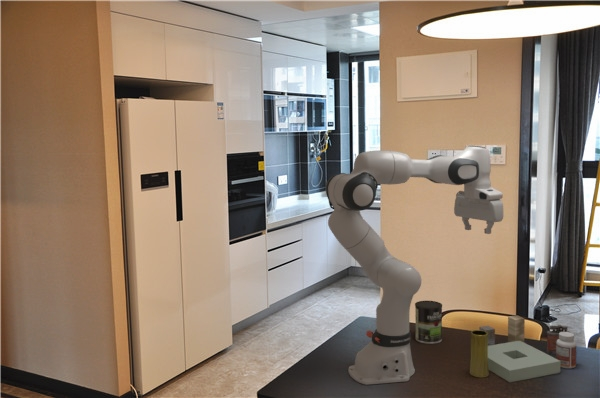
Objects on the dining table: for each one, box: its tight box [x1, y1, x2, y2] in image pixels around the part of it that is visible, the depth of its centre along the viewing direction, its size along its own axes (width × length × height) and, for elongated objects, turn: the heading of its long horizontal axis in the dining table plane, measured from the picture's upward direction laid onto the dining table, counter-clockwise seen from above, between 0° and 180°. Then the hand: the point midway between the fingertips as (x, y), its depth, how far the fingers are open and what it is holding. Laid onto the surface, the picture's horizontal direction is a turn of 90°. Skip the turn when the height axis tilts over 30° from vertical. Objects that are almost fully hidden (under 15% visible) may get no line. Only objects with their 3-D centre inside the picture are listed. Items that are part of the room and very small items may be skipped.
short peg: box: [478, 325, 496, 346], centre depth 214 cm, size 4×4×6 cm
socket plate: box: [488, 341, 561, 383], centre depth 193 cm, size 20×20×4 cm
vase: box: [469, 329, 490, 379], centre depth 187 cm, size 6×6×14 cm
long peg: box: [507, 314, 526, 343], centre depth 206 cm, size 4×4×12 cm
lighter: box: [546, 324, 572, 355], centre depth 203 cm, size 8×3×10 cm, turn 84°
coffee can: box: [414, 300, 443, 345], centre depth 219 cm, size 10×10×14 cm
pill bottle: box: [555, 331, 577, 369], centre depth 191 cm, size 6×6×11 cm
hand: (477, 231), depth 197 cm, fingers open, 8 cm apart
